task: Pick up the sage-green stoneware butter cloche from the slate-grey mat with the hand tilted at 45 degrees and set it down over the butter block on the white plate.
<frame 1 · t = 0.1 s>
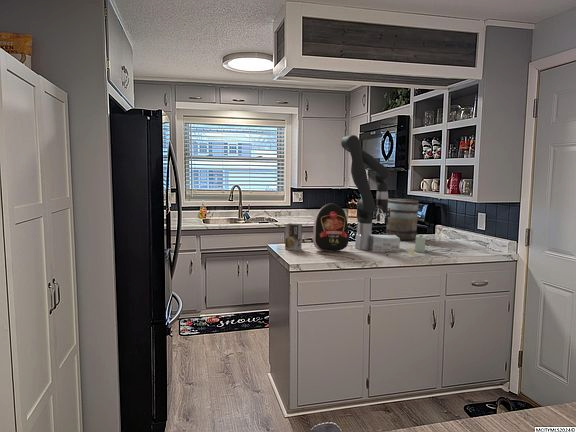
hand: (382, 222, 284), 17 cm above the countertop, tool pointing down, fingers open, 8 cm apart
cloche: (419, 250, 277), point 1 cm above the countertop, touching mat
mat: (419, 251, 278), on the countertop
coffee box: (293, 249, 271), on the countertop
packaged food: (329, 251, 270), on the countertop
supplement box: (384, 250, 280), on the countertop
barrel: (400, 238, 328), on the countertop
butter plate: (411, 255, 265), on the countertop
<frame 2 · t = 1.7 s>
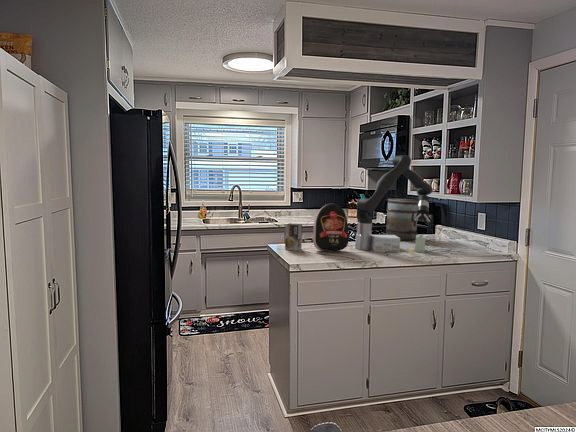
hand: (421, 226, 287), 15 cm above the countertop, tool tilted 45°, fingers open, 8 cm apart
nothing on the countertop moved.
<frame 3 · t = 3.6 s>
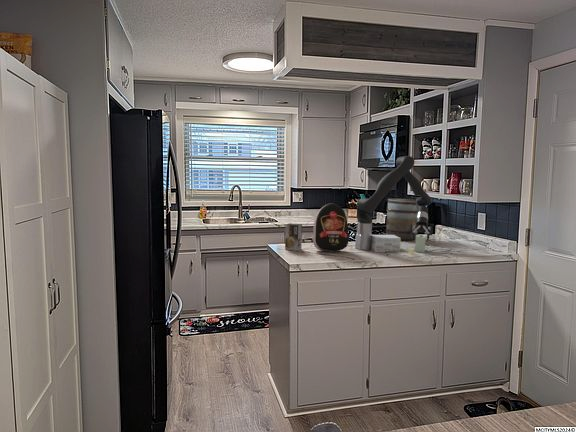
hand: (420, 238, 279), 8 cm above the countertop, tool tilted 45°, fingers open, 8 cm apart
nothing on the countertop moved.
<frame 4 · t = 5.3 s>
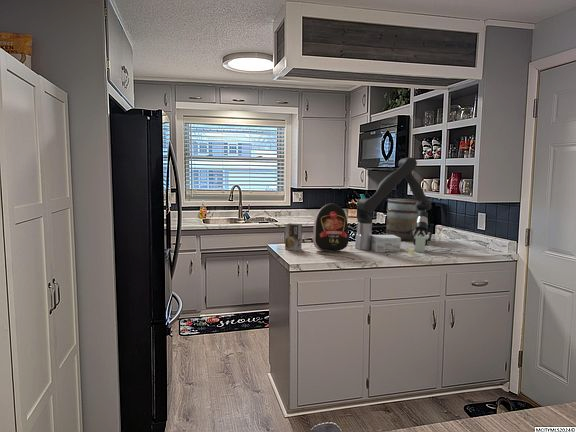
hand: (420, 244, 275), 5 cm above the countertop, tool tilted 45°, fingers closed on cloche, 6 cm apart
cloche: (419, 250, 277), point 1 cm above the countertop, touching gripper, mat
everything else where it was.
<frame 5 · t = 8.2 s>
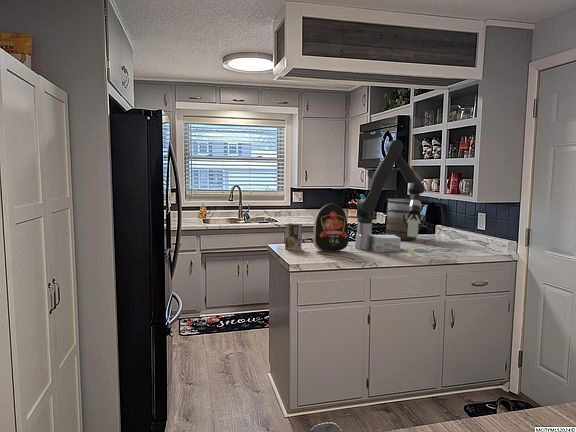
hand: (413, 229, 262), 17 cm above the countertop, tool tilted 45°, fingers closed on cloche, 6 cm apart
cloche: (412, 235, 264), point 12 cm above the countertop, touching gripper
everything else where it was.
when the fingers open (6 cm above the countertop, at t = 11.0 s): cloche drops 1 cm, resting on butter plate.
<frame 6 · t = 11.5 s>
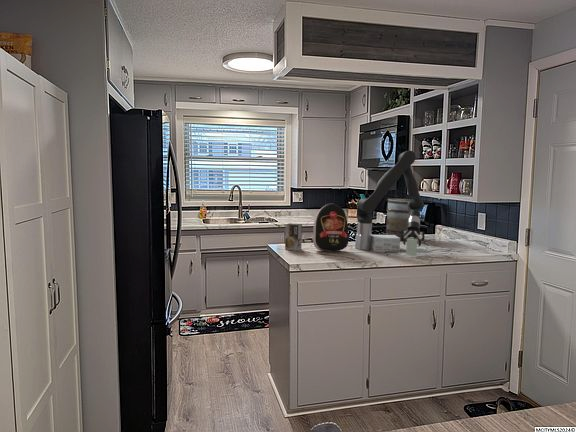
hand: (411, 245, 263), 7 cm above the countertop, tool tilted 45°, fingers open, 8 cm apart
cloche: (411, 253, 265), point 1 cm above the countertop, touching butter plate
everything else where it was.
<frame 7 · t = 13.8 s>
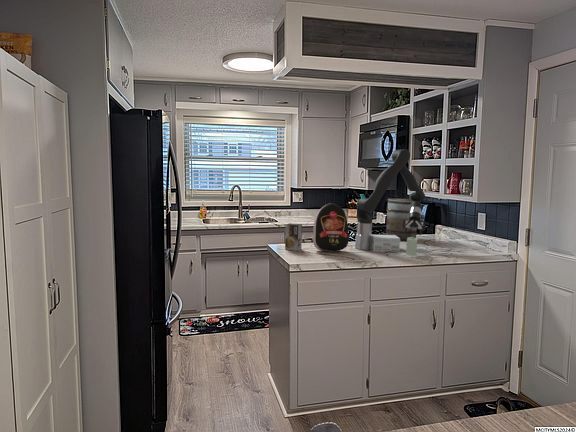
hand: (413, 233, 276), 12 cm above the countertop, tool tilted 45°, fingers open, 8 cm apart
nothing on the countertop moved.
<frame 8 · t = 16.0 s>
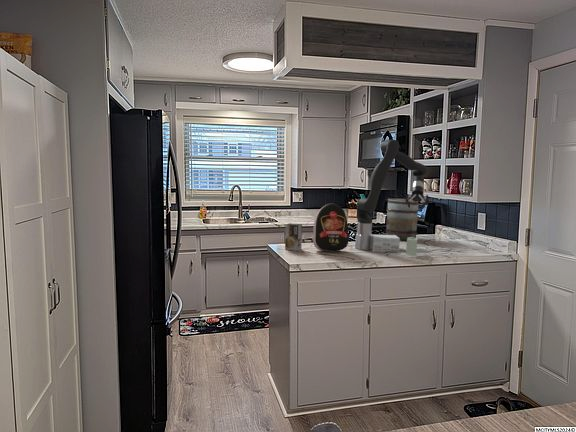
hand: (416, 207, 276), 29 cm above the countertop, tool tilted 45°, fingers open, 8 cm apart
nothing on the countertop moved.
at the end: cloche 0.0 cm off-centre on the butter plate, point 0.8 cm above the butter plate's base; cloche tilted 0°; the gripper is holding nothing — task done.
